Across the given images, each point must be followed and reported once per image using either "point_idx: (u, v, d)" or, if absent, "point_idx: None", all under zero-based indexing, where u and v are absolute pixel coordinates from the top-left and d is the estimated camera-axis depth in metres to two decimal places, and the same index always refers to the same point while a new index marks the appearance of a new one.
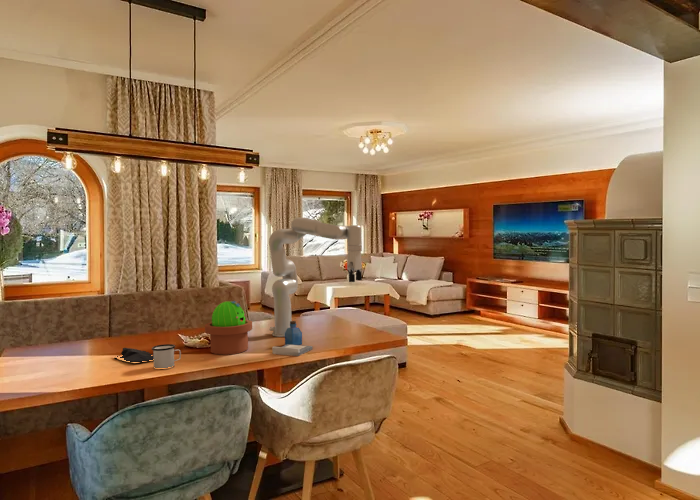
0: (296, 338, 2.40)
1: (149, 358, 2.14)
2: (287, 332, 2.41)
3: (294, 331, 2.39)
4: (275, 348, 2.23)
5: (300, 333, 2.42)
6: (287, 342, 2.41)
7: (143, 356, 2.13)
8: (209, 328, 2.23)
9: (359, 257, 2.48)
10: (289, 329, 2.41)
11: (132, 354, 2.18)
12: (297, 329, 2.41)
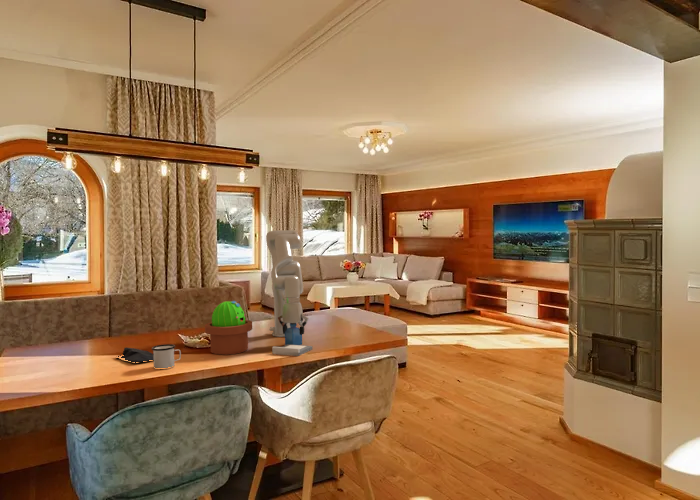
0: (296, 338, 2.40)
1: (150, 358, 2.14)
2: (287, 332, 2.41)
3: (294, 331, 2.39)
4: (275, 348, 2.23)
5: None
6: (287, 342, 2.41)
7: (144, 356, 2.13)
8: (209, 328, 2.23)
9: None
10: (289, 329, 2.41)
11: (133, 354, 2.18)
12: (297, 329, 2.41)
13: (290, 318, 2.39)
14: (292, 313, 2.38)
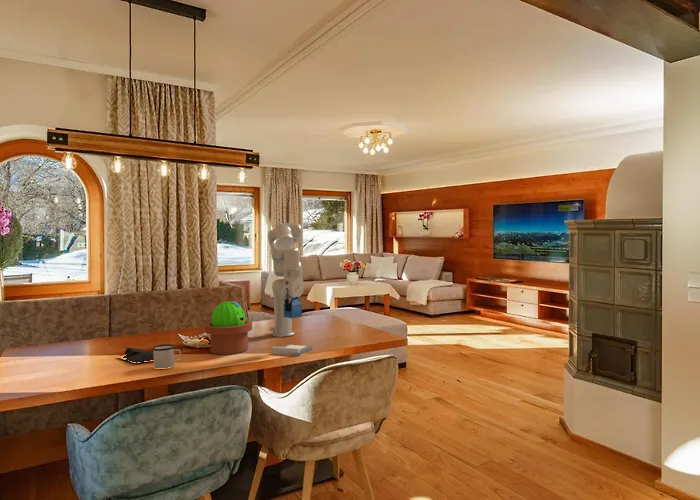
0: None
1: (151, 358, 2.14)
2: (294, 304, 2.25)
3: None
4: (275, 348, 2.23)
5: None
6: (295, 314, 2.25)
7: (145, 356, 2.13)
8: (209, 328, 2.23)
9: None
10: (295, 300, 2.27)
11: (135, 354, 2.18)
12: None
13: (297, 291, 2.27)
14: (298, 286, 2.28)
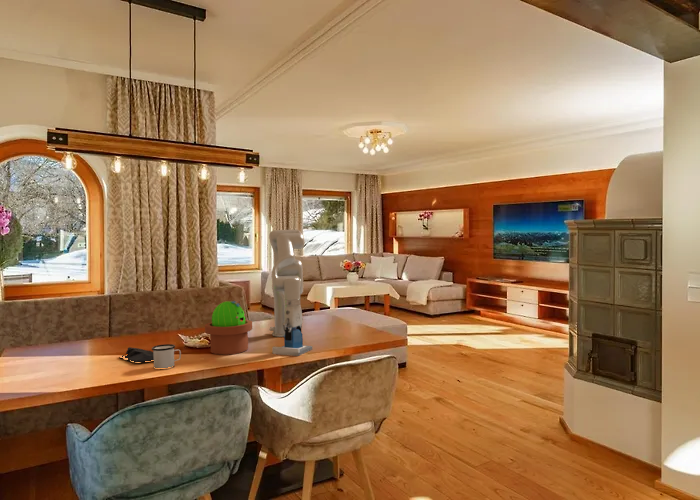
0: None
1: None
2: (295, 335, 2.26)
3: None
4: (275, 348, 2.23)
5: None
6: (296, 345, 2.26)
7: (147, 356, 2.13)
8: (209, 328, 2.23)
9: None
10: (296, 331, 2.27)
11: (136, 354, 2.18)
12: None
13: (298, 321, 2.27)
14: (299, 315, 2.28)
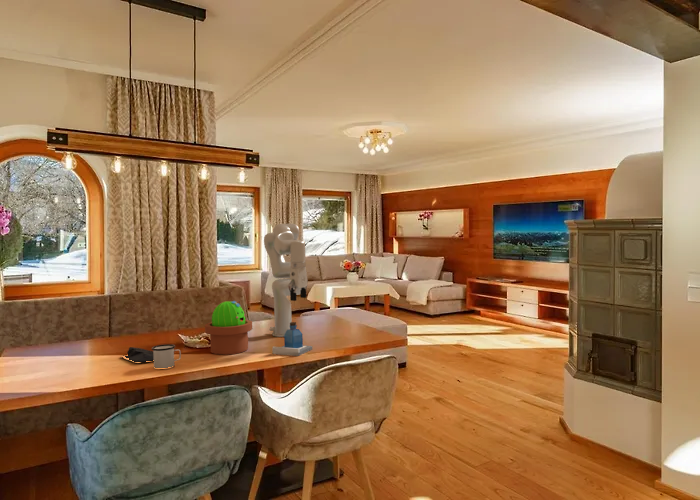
0: None
1: None
2: (295, 335, 2.26)
3: None
4: (275, 348, 2.23)
5: None
6: (296, 345, 2.26)
7: (147, 356, 2.13)
8: (209, 328, 2.23)
9: None
10: (296, 331, 2.27)
11: (137, 354, 2.18)
12: None
13: (303, 282, 2.37)
14: (304, 277, 2.38)
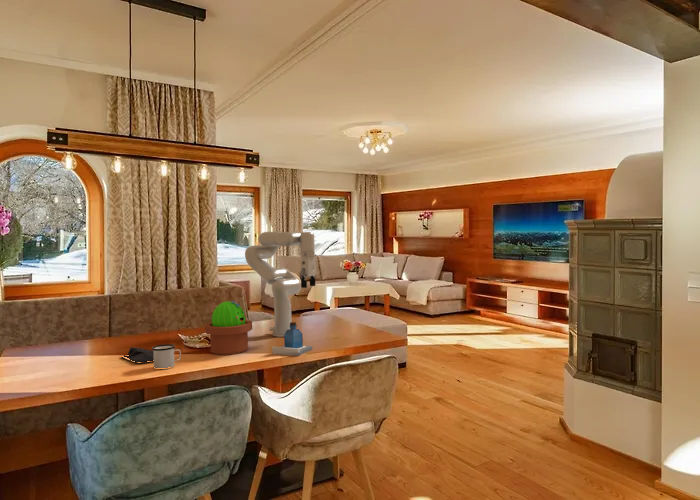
0: None
1: None
2: (295, 335, 2.26)
3: None
4: (275, 348, 2.23)
5: None
6: (296, 345, 2.26)
7: (148, 356, 2.13)
8: (209, 328, 2.23)
9: None
10: (296, 331, 2.27)
11: (138, 354, 2.18)
12: None
13: (312, 271, 2.52)
14: (313, 266, 2.54)
